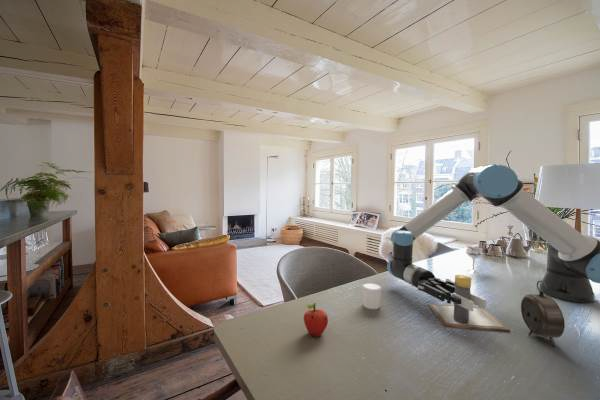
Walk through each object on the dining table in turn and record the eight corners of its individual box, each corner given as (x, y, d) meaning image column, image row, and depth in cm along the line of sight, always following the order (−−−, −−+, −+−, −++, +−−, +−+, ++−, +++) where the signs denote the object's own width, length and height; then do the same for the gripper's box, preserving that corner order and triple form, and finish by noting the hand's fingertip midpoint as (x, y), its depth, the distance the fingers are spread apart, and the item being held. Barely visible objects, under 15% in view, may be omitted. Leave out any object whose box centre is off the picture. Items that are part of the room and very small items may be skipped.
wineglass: (484, 274, 126) (486, 249, 125) (470, 274, 126) (471, 249, 126) (475, 269, 133) (476, 246, 132) (462, 269, 133) (463, 246, 132)
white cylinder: (382, 303, 94) (383, 284, 94) (379, 311, 88) (380, 291, 88) (363, 299, 97) (363, 281, 97) (359, 307, 91) (359, 287, 90)
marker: (465, 317, 83) (466, 275, 82) (471, 324, 79) (473, 280, 78) (450, 316, 83) (452, 274, 83) (456, 322, 79) (458, 279, 78)
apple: (303, 327, 78) (304, 294, 77) (326, 327, 78) (327, 294, 77) (303, 342, 70) (303, 306, 70) (328, 343, 70) (329, 306, 70)
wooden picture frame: (483, 309, 90) (483, 307, 90) (510, 331, 76) (510, 329, 76) (428, 305, 93) (428, 303, 93) (444, 326, 79) (444, 324, 79)
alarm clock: (564, 350, 68) (569, 289, 67) (540, 347, 69) (544, 287, 68) (536, 328, 78) (539, 274, 78) (515, 326, 80) (518, 273, 79)
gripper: (437, 285, 100) (499, 314, 78) (399, 290, 95) (455, 322, 73) (438, 265, 100) (501, 289, 78) (400, 269, 95) (456, 296, 73)
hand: (478, 305), depth 75 cm, fingers open, 4 cm apart
